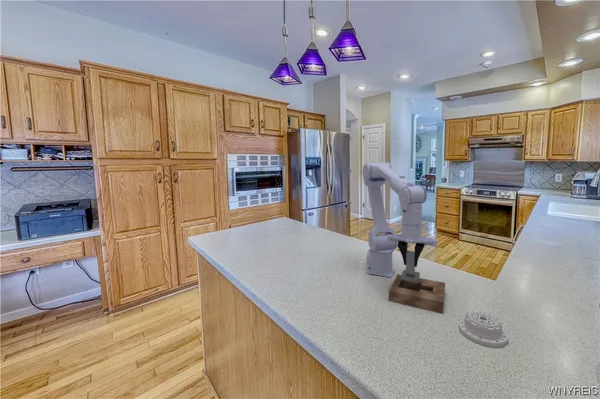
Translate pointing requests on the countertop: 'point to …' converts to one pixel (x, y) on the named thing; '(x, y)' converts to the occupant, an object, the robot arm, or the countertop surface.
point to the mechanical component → (483, 329)
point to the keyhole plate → (418, 293)
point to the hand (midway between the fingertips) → (410, 264)
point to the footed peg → (410, 269)
